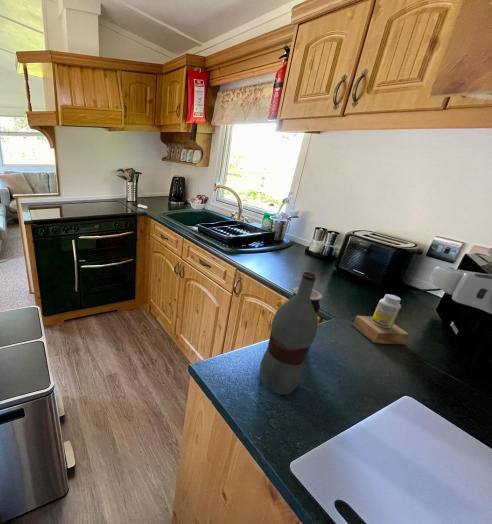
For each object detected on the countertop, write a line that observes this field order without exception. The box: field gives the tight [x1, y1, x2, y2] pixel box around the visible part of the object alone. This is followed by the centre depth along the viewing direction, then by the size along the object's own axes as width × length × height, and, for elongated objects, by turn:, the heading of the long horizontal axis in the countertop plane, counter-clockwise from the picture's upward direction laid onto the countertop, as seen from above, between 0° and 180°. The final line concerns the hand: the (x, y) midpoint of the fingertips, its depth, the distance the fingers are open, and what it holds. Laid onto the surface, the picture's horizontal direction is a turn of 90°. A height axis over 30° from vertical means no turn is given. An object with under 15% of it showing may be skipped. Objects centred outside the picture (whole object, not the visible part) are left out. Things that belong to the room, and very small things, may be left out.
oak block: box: [352, 315, 410, 345], centre depth 96 cm, size 10×10×4 cm
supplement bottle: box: [372, 293, 402, 328], centre depth 94 cm, size 6×6×10 cm
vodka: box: [258, 271, 318, 396], centre depth 67 cm, size 9×9×30 cm
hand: (470, 273), depth 70 cm, fingers open, 8 cm apart
